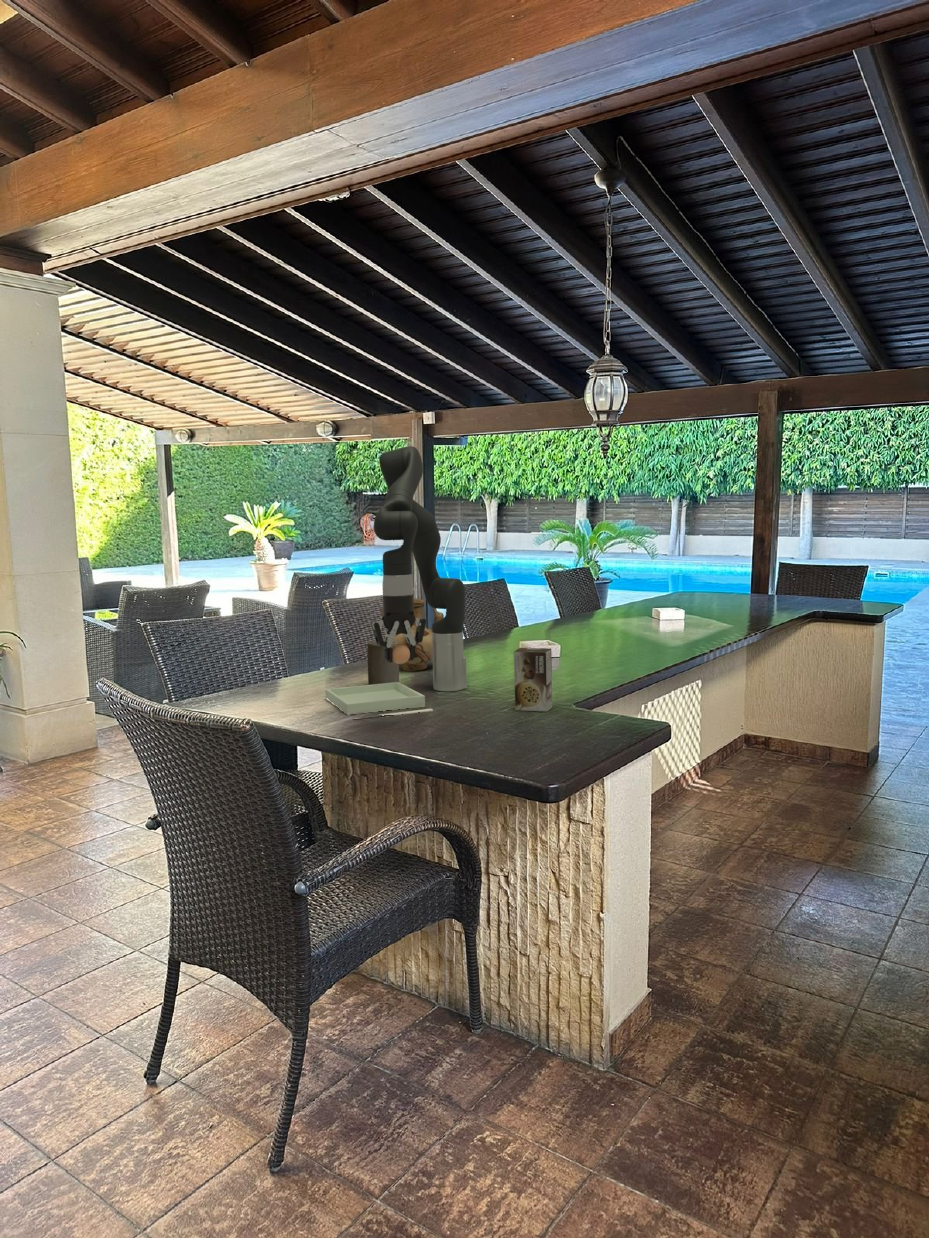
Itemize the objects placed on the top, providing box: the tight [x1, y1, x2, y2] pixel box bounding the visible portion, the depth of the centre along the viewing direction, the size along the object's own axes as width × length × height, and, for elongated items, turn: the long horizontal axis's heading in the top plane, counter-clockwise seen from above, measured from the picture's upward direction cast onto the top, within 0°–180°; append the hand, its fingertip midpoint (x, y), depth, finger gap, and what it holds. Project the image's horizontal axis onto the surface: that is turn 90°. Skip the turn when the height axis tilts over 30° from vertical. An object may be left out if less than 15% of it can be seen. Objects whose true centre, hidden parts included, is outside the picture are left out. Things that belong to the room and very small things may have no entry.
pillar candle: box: [366, 639, 400, 685], centre depth 268 cm, size 10×10×15 cm
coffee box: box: [513, 647, 553, 713], centre depth 235 cm, size 9×6×16 cm
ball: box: [392, 644, 410, 665], centre depth 218 cm, size 5×5×5 cm
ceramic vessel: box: [381, 597, 445, 672], centre depth 296 cm, size 18×19×25 cm
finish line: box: [380, 708, 434, 716], centre depth 232 cm, size 22×2×1 cm, turn 114°
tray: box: [324, 681, 426, 714], centre depth 246 cm, size 22×22×3 cm
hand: (400, 660), depth 218 cm, fingers closed on ball, 5 cm apart
